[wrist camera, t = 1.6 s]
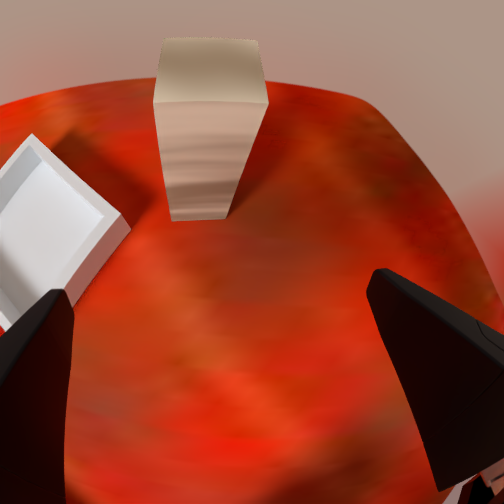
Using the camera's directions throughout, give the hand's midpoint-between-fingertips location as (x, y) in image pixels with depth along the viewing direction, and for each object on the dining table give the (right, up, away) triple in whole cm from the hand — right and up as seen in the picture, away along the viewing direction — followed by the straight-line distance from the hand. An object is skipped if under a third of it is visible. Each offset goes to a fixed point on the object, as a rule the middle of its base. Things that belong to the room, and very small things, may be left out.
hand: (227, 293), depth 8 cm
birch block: (-3, +5, +14) cm, 16 cm away
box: (-16, +2, +11) cm, 19 cm away
